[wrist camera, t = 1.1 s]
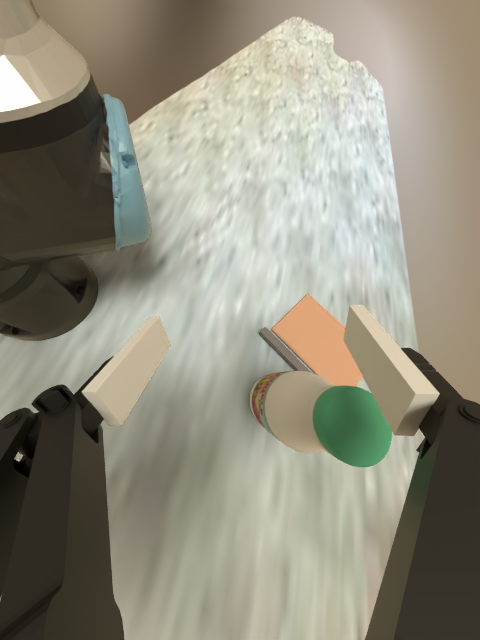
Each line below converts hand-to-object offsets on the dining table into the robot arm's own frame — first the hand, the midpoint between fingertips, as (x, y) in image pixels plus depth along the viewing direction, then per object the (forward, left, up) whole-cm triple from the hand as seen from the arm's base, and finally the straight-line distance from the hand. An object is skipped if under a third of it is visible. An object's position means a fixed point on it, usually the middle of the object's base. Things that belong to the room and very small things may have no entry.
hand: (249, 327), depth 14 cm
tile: (+9, +13, -19) cm, 25 cm away
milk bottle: (+9, 0, -19) cm, 21 cm away
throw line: (+9, +7, -19) cm, 22 cm away
